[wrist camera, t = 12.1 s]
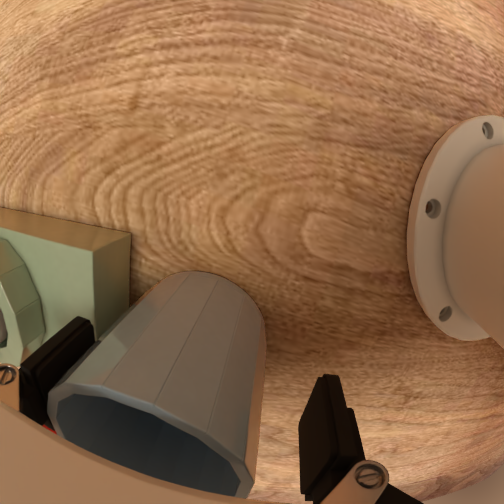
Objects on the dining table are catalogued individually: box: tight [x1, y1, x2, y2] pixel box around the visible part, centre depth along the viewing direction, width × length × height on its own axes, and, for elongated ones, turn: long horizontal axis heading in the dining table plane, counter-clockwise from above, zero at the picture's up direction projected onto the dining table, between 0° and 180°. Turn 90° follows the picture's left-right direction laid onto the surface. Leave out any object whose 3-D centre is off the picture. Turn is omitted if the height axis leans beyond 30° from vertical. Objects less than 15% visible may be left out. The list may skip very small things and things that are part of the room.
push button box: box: [0, 207, 131, 367], centre depth 12 cm, size 12×8×6 cm, turn 80°
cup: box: [47, 271, 267, 499], centre depth 10 cm, size 7×7×8 cm
